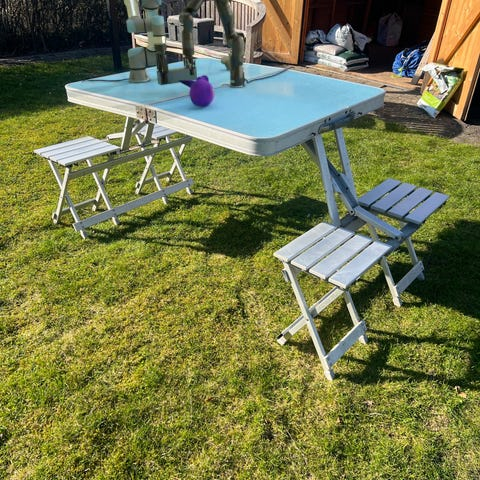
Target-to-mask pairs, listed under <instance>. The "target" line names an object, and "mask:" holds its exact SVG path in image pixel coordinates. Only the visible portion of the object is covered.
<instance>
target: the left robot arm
mask: <svg viewBox="0 0 480 480" xmlns="http://www.w3.org/2000/svg"><path fill="white" fill-rule="evenodd" d="M123 3H124V5H125V7H126V11H127V17H128V19H126V22H125V23H126V28H127V32H128V33H129V34H135V33H136V34H138V33H139V34H140V33H146V34H147V44H146V48H144V47H143V46H137V47H132V48H130V49H128V50H127V57H128V64H129V65H128V66H129V76H128V78H127V77H126V78H122V79H83V80H82V83H84V82H86V81H88V82H122V81H128V82H129V83H133V84H141V83H148V82H150V75H149V74H148V71H147V67H151V66H156V71H160V70H163V72H162V73H163V81H164V84H166V83H168V77H167V72H169V70H168V69H169V61H168V55H167V54H166V51H167V49H168V48H167V44H166V43H167V40H166V39H167V37H166V28H165V26H166V25H165V19H164V18H165V17H164V15H159V9H160V6H161V5H162V0H123ZM139 6H142V9H143V10H144V14H145V18H142V17H141V12H140V7H139ZM83 81H84V82H83ZM88 130H90V128H88Z"/></svg>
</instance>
